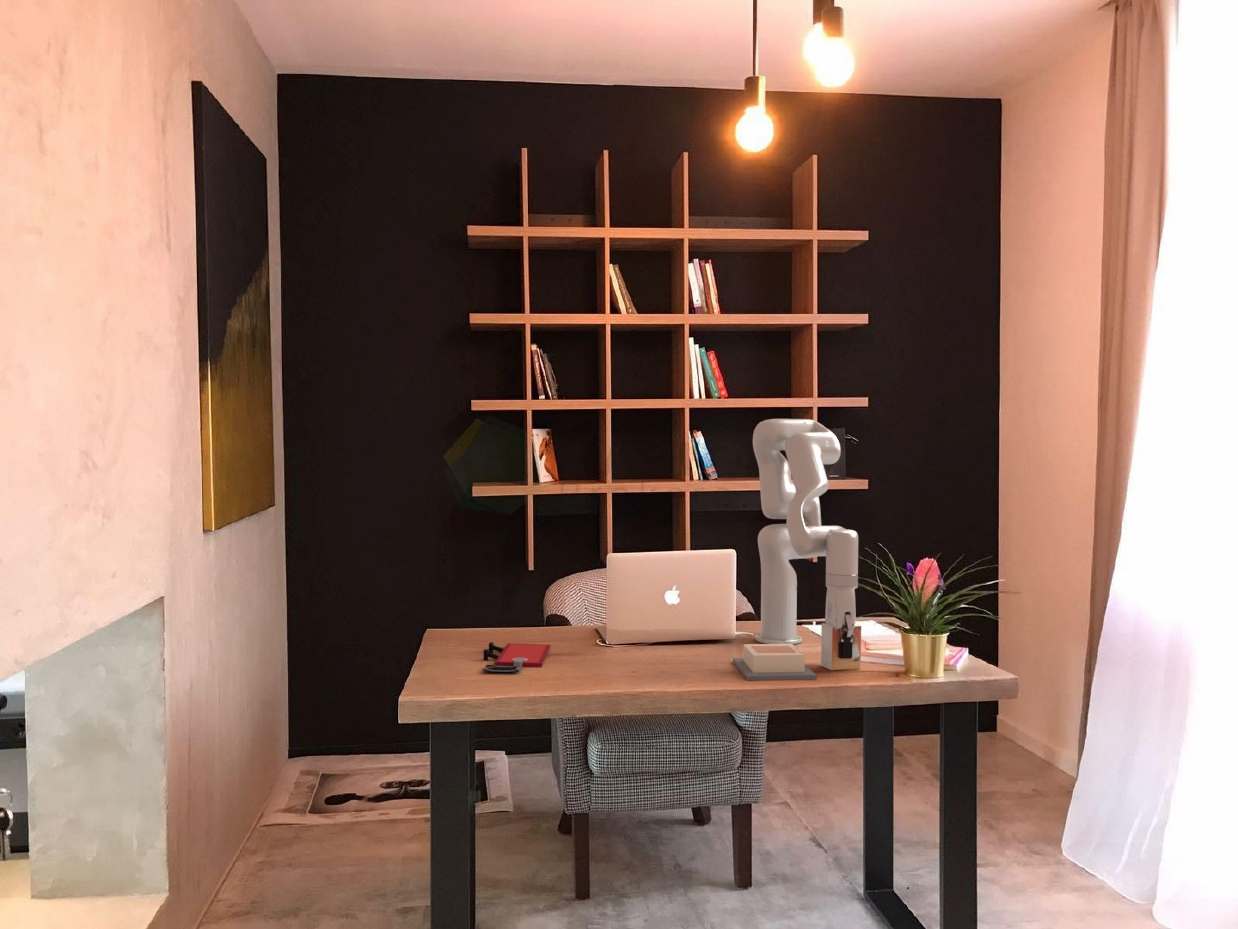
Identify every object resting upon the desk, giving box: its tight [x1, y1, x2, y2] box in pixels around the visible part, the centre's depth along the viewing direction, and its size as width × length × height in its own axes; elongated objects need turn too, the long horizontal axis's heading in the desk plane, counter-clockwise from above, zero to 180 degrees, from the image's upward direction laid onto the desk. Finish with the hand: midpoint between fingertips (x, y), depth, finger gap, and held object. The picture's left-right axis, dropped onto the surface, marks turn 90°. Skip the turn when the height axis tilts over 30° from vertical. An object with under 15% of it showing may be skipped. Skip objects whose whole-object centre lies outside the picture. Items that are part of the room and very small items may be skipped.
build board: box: [732, 643, 817, 681], centre depth 240 cm, size 18×16×5 cm
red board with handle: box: [482, 641, 551, 673], centre depth 250 cm, size 30×3×15 cm
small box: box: [820, 622, 862, 671], centre depth 243 cm, size 8×6×10 cm
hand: (840, 654), depth 243 cm, fingers closed on small box, 6 cm apart
